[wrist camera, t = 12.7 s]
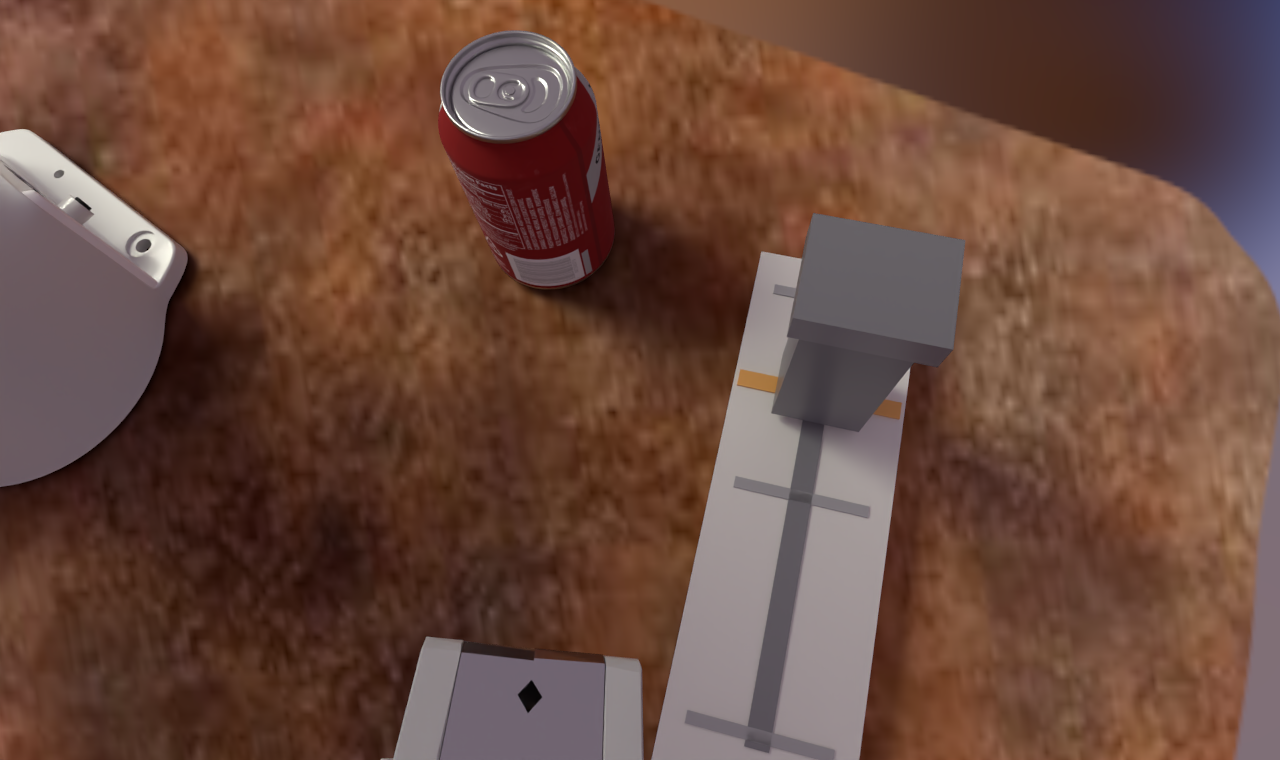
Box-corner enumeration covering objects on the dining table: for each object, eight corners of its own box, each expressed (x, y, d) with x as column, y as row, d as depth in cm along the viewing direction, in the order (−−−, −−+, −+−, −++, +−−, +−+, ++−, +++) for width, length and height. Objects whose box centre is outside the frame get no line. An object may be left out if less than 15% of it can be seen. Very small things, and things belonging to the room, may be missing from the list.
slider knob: (868, 445, 33) (953, 349, 23) (758, 421, 34) (792, 318, 24) (879, 364, 35) (965, 240, 24) (773, 342, 35) (813, 213, 25)
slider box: (840, 809, 30) (852, 820, 28) (652, 756, 31) (650, 763, 29) (909, 299, 38) (922, 280, 36) (757, 270, 39) (761, 250, 37)
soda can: (600, 305, 39) (569, 164, 28) (479, 285, 40) (401, 139, 29) (627, 199, 41) (608, 28, 30) (512, 181, 42) (452, 9, 31)
